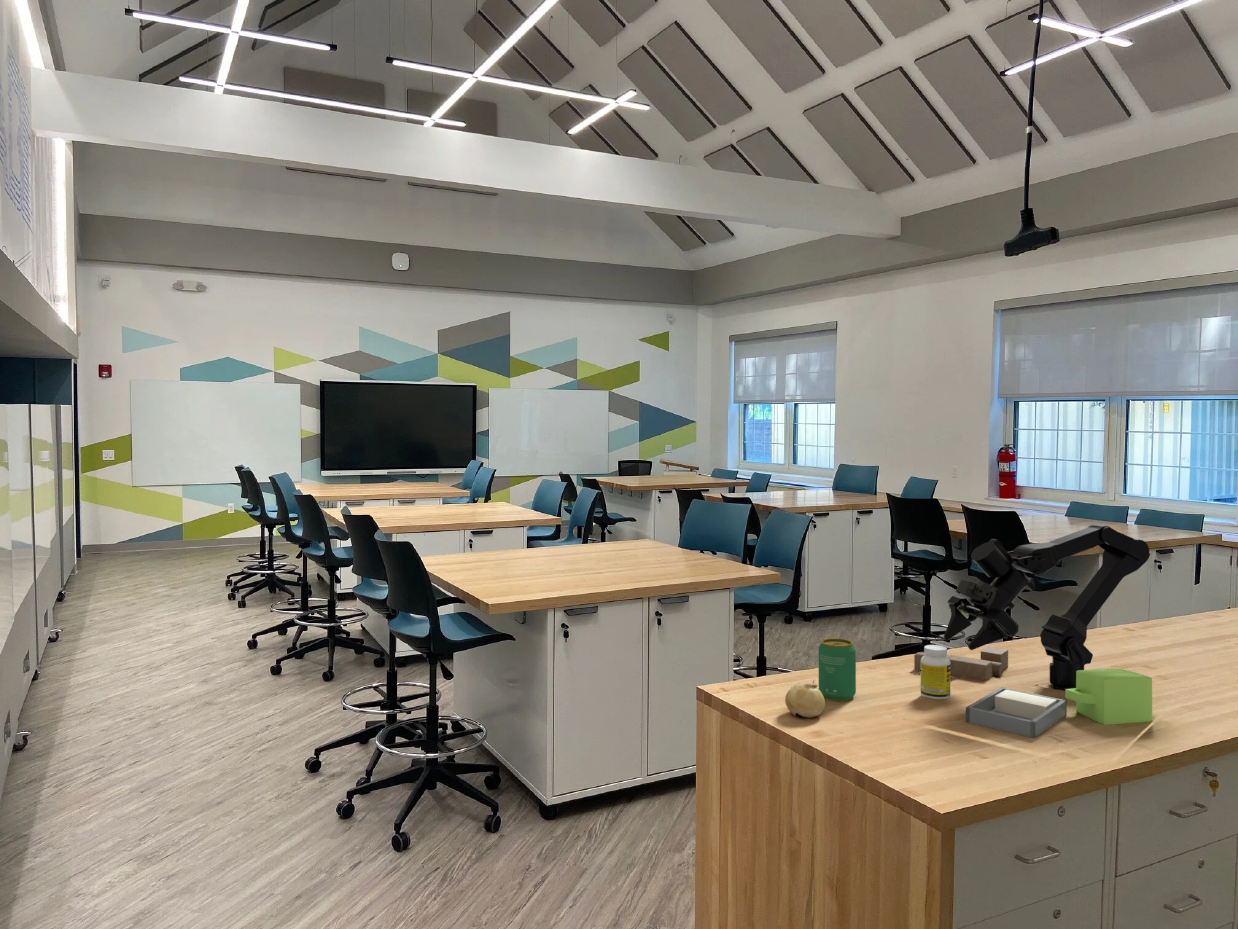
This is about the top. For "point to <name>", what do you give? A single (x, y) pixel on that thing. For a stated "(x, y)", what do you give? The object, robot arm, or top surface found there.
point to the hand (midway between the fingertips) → (957, 643)
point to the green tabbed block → (1112, 696)
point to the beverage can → (837, 669)
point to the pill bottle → (935, 672)
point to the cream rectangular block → (1022, 704)
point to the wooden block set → (974, 664)
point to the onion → (805, 700)
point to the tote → (1013, 716)
